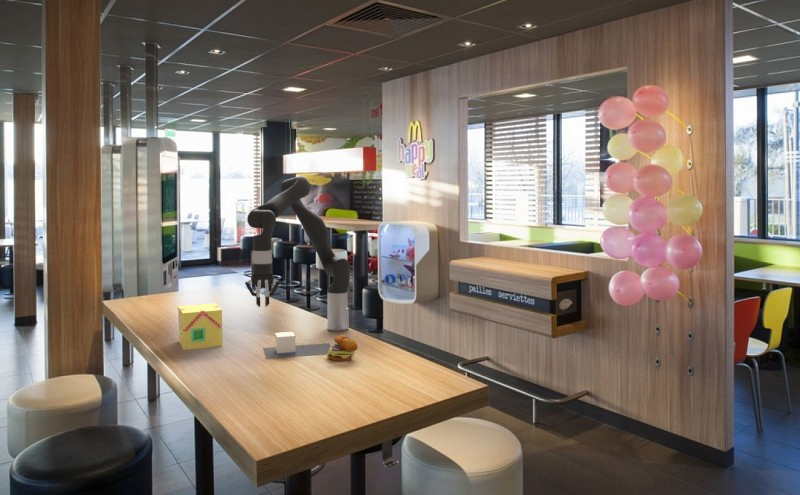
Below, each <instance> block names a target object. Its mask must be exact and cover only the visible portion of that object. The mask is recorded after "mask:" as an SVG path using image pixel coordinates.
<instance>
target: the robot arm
mask: <svg viewBox="0 0 800 495" xmlns="http://www.w3.org/2000/svg"><path fill="white" fill-rule="evenodd" d="M280 189H281V192H280V193H278V194H276V195H275V196H273V197H271V198H270V199H269V200H268V201H266V203H264V204H261V205H259V206H256V207H254V208H253V209H251V210H250V212H249V213H248V215H247V218H246V221H247V224H248V226H250V227H251V228H254V229H263V230H262V232H261V233H260V234H254V235H253V236H252V254H251V265H252V266H251V268H252V269H251V270H252V272H251V274H252V275H251V278H250V279H249V280H247V281H245V282H244V284H245V286H246V288H247V290H248V291H249V292H250V295H251V296H252V297H255V301H256V306H257V307H258V308H259V307H261V289H264V291H265V292H264V293H265V296H264V304H265V307H268V305H270V297H272V296H274V295H275V293H276V291H277V289H278V287H279V285H280V280H278V279H276V278H275V277H274V275H273V253H272V239H273V233H274V230H275V226H276V222H277V218H278V217H279V216H280V215H282V213H283V212H285V211H286V210H288V208H291V209H292V211H293V212H294V214H295V215H296V217H297V219H298V220H299V222H300V224H301V226H302V228H303V230H304V232H305V234H306V236H307V237H308V239H309V241H310V242H311V244H312V246H313V248H314V250H315V252H316V254H317V255H318V258H319V261H320V263H321V265H322V268H323V270H324V272H325V273H326V275H328V276H329V277H332V283H331V284H329V285H328V286H327V288H326V289H327V290H326V291H327V324H326V325H327V330H330V331H345V330H349V329H348V328H349V326H350V325H349V323H350V322H349V320H350V319H349V318H350V317H349V316H350V313H349V311H350V310H349V308H348V294H349V292H348V289H349V286H350V280H351V266H350V262H349V261H348V259H346V258H344V257H339V256H336V254H335V253H334V252H333V249H332V247H331V245H330V232H329V229H328V228H327V225H326V224H325V222H324V219H322V217H321V216H319V214H317V213H316V212H314V210H312V209H310V208H308V207H307V206H306V205H305V204H304V202H303V201H302V199H303V198H305V197H307V196H308V195H309V194H310V192H311V185H310V182H309V180H308V179H307V178H306V177H305V176H302V175H299V176H295V177H291V178H288V179H285V180H283V181H282V182H281V184H280ZM252 284H253V286H255V287H256V291H254V290H253V288H252ZM271 284H273V286H272V288H271V290H269V287H270V285H271ZM346 327H347V328H346Z"/></svg>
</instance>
